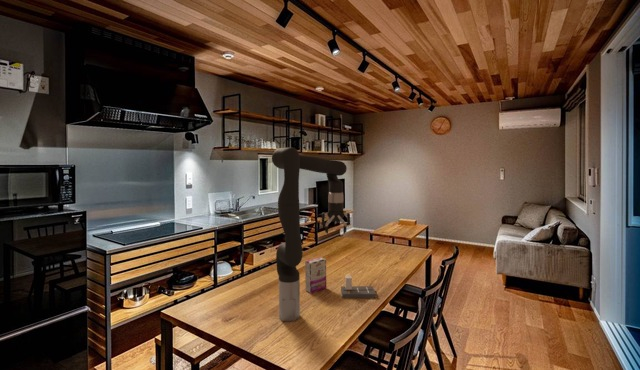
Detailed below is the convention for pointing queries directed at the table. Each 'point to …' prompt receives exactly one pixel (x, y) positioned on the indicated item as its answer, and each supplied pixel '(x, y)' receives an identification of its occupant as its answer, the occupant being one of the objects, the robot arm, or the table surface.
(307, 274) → the candy bar box
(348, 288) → the fader knob
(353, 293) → the fader console
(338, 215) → the robot arm
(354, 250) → the table surface
